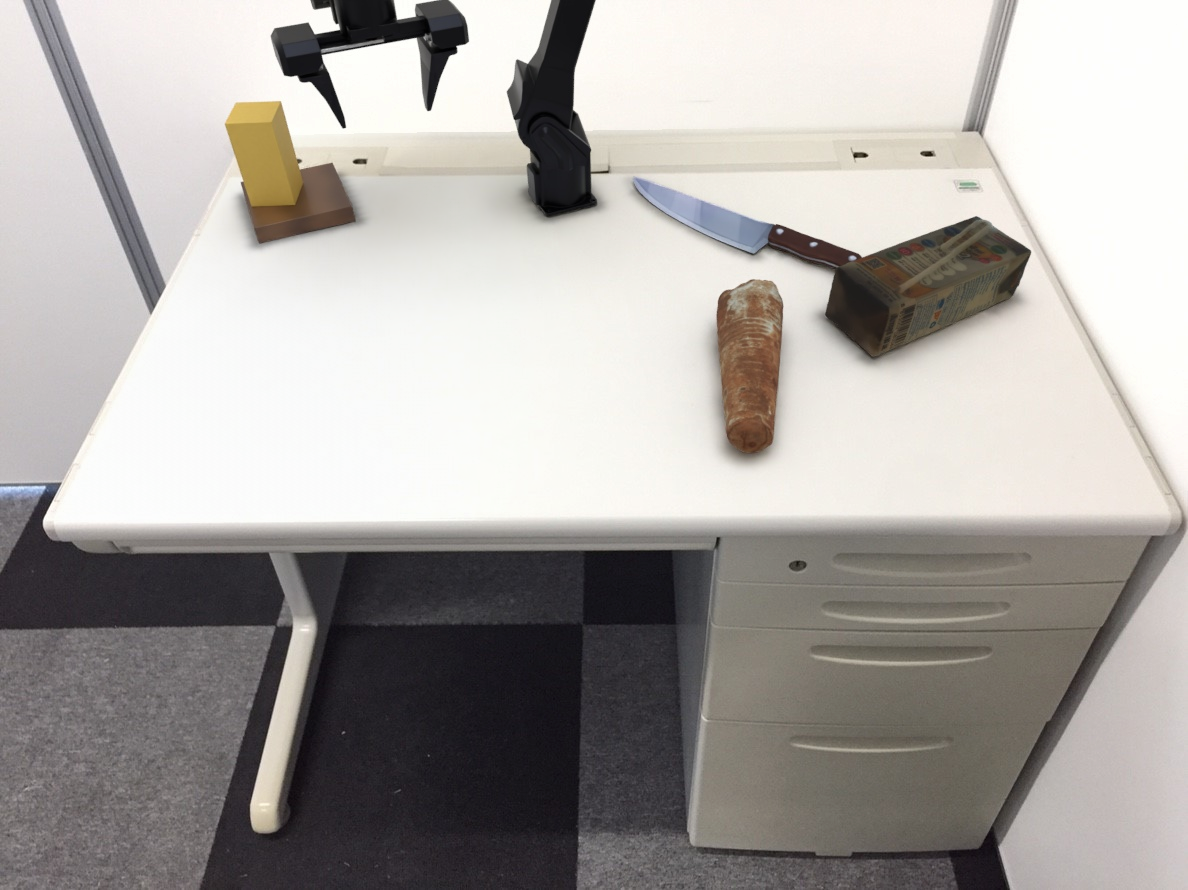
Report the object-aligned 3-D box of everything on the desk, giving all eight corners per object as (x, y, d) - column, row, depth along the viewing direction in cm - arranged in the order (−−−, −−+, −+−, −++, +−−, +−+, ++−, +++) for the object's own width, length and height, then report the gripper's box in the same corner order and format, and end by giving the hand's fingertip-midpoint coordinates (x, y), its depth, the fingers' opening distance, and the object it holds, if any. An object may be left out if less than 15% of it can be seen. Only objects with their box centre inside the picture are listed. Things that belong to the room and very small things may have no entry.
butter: (303, 182, 108) (281, 100, 101) (295, 205, 105) (271, 122, 98) (261, 184, 108) (235, 102, 101) (251, 206, 105) (224, 123, 97)
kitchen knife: (844, 288, 94) (848, 272, 93) (610, 200, 109) (610, 185, 107) (866, 269, 97) (869, 254, 95) (634, 185, 111) (634, 171, 110)
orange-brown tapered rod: (779, 324, 91) (787, 278, 87) (777, 463, 78) (785, 416, 74) (715, 319, 92) (720, 272, 88) (702, 456, 78) (707, 409, 74)
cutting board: (336, 177, 113) (332, 162, 111) (355, 221, 106) (352, 206, 104) (245, 196, 110) (240, 181, 109) (258, 243, 103) (253, 228, 101)
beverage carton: (1018, 299, 93) (1039, 244, 88) (873, 364, 86) (888, 307, 82) (960, 261, 98) (977, 206, 93) (819, 319, 91) (829, 263, 87)
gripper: (428, -78, 94) (448, 72, 105) (243, -51, 89) (285, 104, 100) (460, -45, 87) (478, 113, 98) (261, -13, 82) (303, 149, 93)
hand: (386, 118), depth 98 cm, fingers open, 9 cm apart
